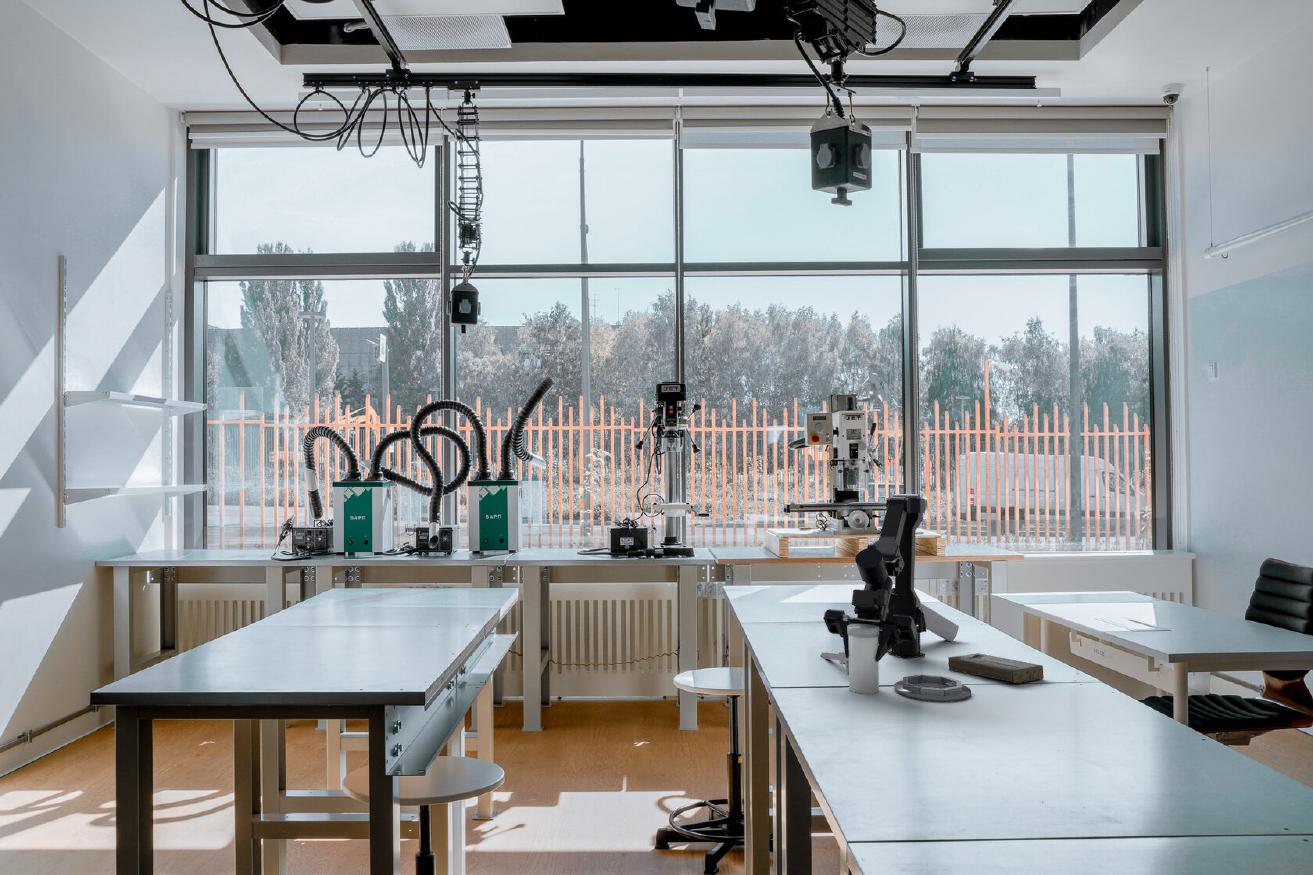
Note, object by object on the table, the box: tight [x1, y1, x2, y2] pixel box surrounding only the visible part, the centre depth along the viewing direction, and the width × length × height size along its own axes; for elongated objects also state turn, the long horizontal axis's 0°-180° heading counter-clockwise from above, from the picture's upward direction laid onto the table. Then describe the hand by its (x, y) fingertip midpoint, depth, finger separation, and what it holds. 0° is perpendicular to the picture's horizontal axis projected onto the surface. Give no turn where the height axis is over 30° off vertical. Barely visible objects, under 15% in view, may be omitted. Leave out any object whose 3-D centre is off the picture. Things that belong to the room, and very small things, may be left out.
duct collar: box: [893, 674, 972, 703], centre depth 170 cm, size 15×15×2 cm
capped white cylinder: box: [847, 624, 880, 695], centre depth 172 cm, size 6×6×13 cm
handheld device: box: [878, 587, 960, 646], centre depth 216 cm, size 4×22×15 cm, turn 106°
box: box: [947, 652, 1045, 684], centre depth 184 cm, size 11×17×3 cm, turn 30°
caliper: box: [819, 651, 849, 676], centre depth 193 cm, size 20×1×6 cm, turn 8°
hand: (861, 658), depth 171 cm, fingers closed on capped white cylinder, 6 cm apart
